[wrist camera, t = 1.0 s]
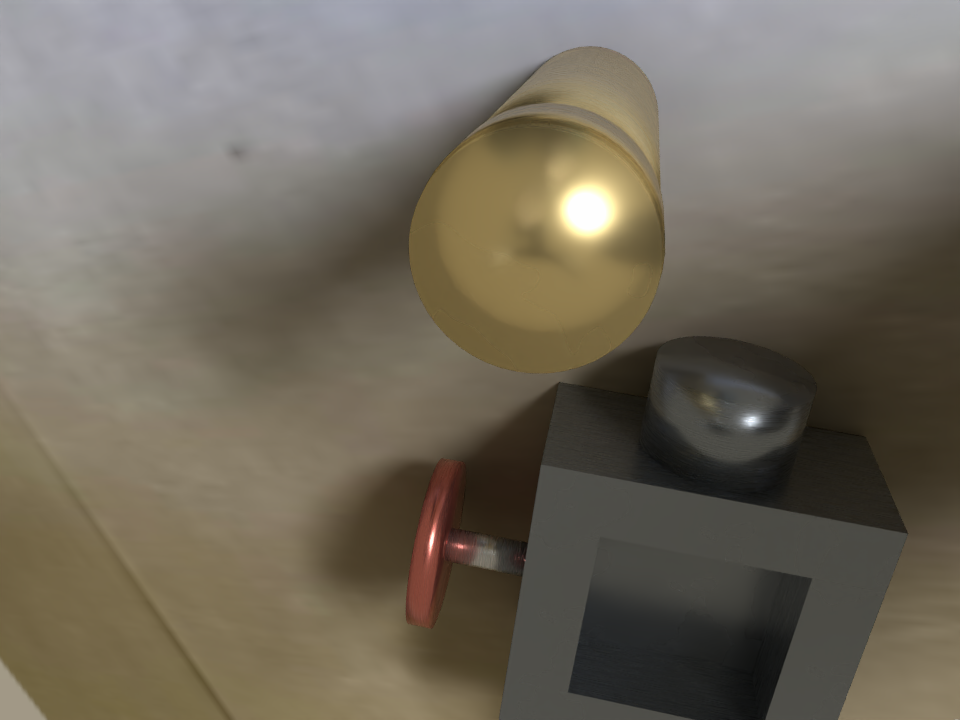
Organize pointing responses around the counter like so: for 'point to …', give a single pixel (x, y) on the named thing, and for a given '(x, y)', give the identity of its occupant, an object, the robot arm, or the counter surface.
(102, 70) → the counter surface
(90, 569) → the counter surface
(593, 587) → the valve body
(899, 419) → the counter surface
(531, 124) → the fitting
